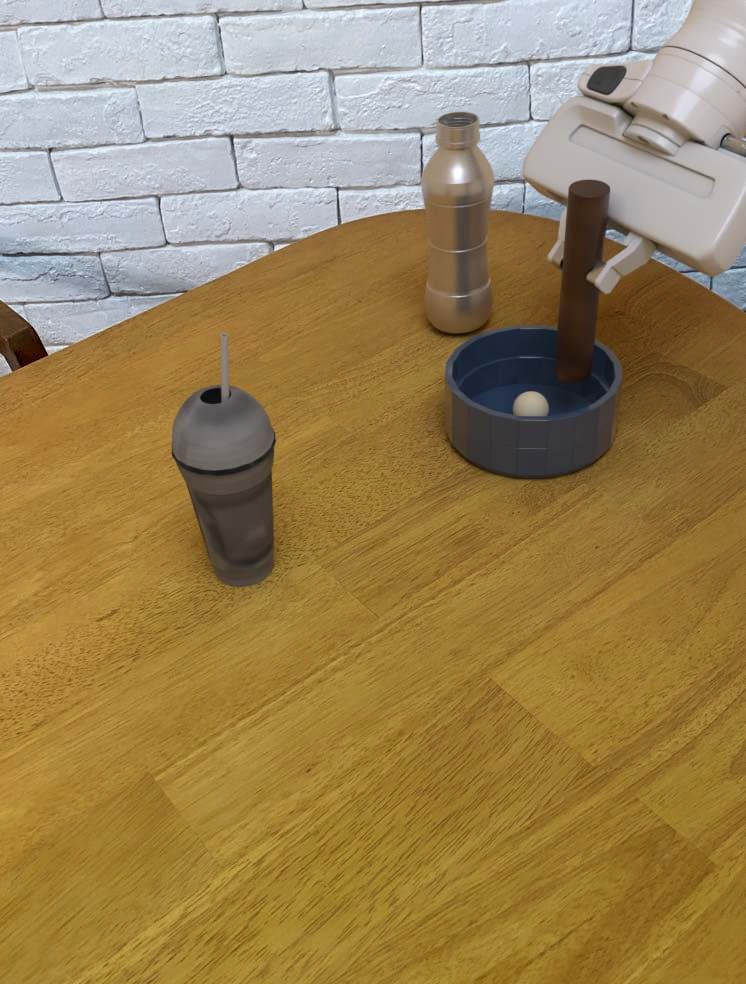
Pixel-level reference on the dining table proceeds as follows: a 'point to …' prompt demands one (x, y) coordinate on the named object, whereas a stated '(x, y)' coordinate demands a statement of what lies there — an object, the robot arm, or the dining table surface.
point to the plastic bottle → (458, 226)
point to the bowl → (528, 439)
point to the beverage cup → (229, 476)
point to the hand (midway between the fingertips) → (575, 277)
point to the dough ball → (531, 405)
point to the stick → (580, 279)
